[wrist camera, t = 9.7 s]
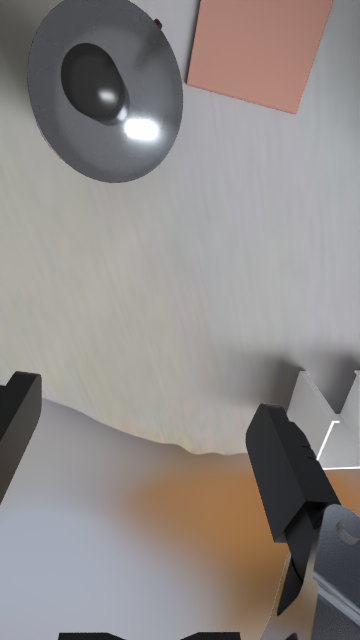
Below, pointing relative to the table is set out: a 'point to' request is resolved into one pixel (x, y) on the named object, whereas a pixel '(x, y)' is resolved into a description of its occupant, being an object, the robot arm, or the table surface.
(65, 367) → the table surface
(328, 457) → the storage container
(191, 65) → the mat
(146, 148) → the lid
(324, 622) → the robot arm
